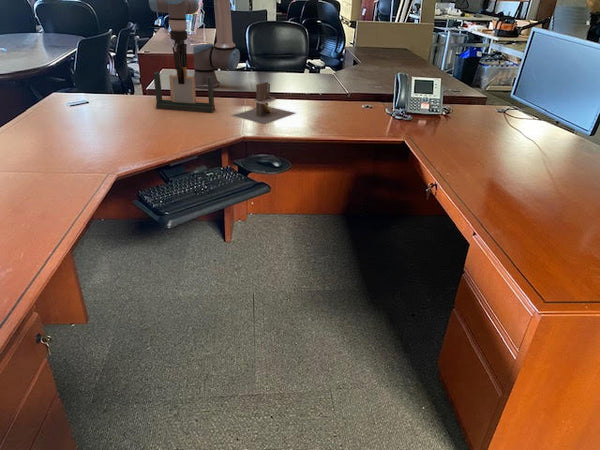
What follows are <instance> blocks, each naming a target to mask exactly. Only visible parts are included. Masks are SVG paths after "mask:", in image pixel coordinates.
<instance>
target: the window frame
mask: <svg viewBox="0 0 600 450" xmlns="http://www.w3.org/2000/svg"><path fill="white" fill-rule="evenodd" d="M152 75H153V82H154V92H155V100H156V101H155V102H156V103H155V108H156V110H166V111H168V110H169V111H180V112H194V113H208V114H212V113H213V112H215V110H216V105H215V95H214V88H213V76H209V77H207V79H208V88H207V95H208V97H207V99H208V102H199V101H196V103H182V102H172V99H163V92H162V83H161V82H162V81H161V73H160V71H156V72H154V73H153V74H152Z"/></svg>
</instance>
